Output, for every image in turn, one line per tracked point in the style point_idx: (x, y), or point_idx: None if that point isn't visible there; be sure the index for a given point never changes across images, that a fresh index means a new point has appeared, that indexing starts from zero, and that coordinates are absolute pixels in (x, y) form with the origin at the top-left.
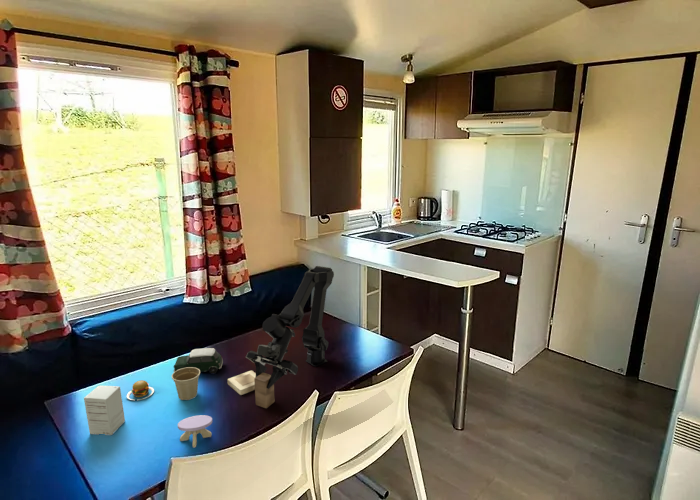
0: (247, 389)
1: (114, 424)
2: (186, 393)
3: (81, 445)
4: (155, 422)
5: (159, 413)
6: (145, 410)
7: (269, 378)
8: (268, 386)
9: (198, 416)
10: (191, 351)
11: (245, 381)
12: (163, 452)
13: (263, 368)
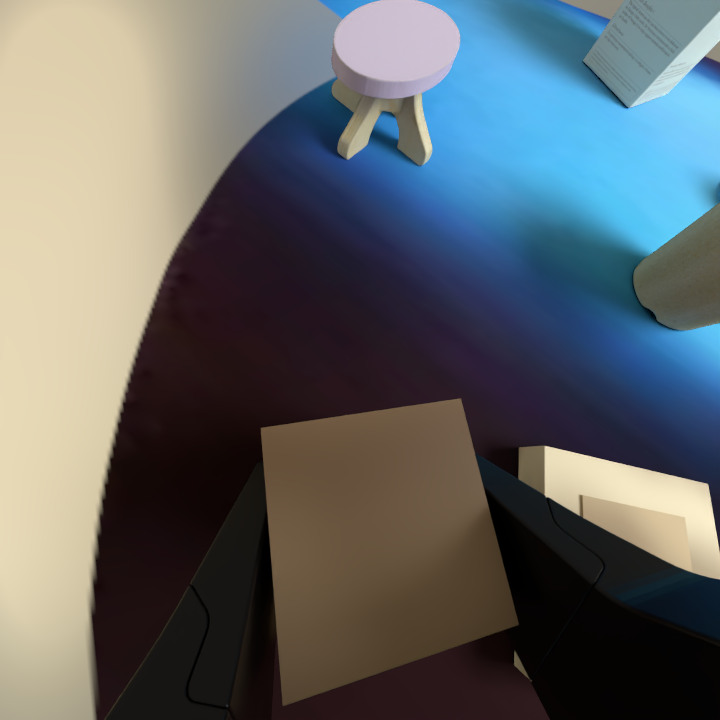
0: None
1: (616, 41)
2: (671, 242)
3: (585, 20)
4: (565, 136)
5: (608, 172)
6: (652, 165)
7: (272, 559)
8: (252, 480)
9: (427, 67)
10: None
11: None
12: None
13: (598, 716)
